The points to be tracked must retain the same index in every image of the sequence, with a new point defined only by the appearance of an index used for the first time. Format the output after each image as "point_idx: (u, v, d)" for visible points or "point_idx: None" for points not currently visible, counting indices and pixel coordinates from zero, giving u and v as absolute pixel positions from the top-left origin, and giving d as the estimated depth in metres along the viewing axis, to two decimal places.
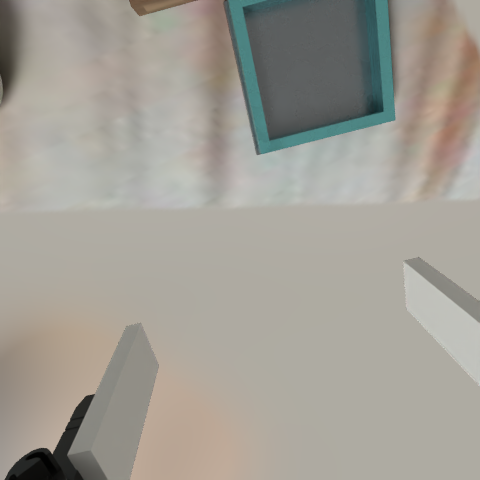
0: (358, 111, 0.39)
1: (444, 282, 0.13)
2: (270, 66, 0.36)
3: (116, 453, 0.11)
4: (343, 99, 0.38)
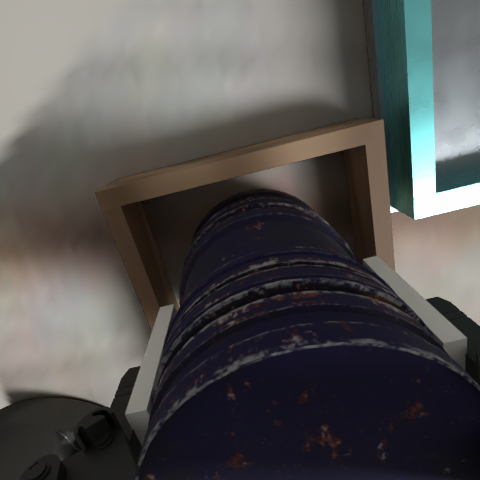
0: None
1: (394, 278, 0.14)
2: None
3: None
4: None
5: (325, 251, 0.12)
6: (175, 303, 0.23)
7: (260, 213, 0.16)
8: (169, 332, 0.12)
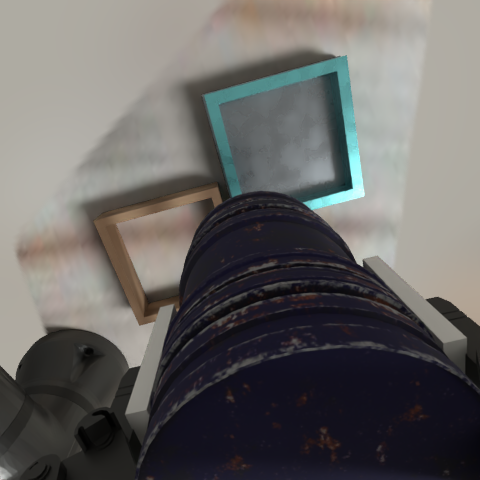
0: (327, 92, 0.38)
1: (394, 278, 0.14)
2: (284, 185, 0.41)
3: None
4: (315, 110, 0.38)
5: (324, 253, 0.12)
6: (135, 274, 0.44)
7: (260, 214, 0.16)
8: (168, 334, 0.12)
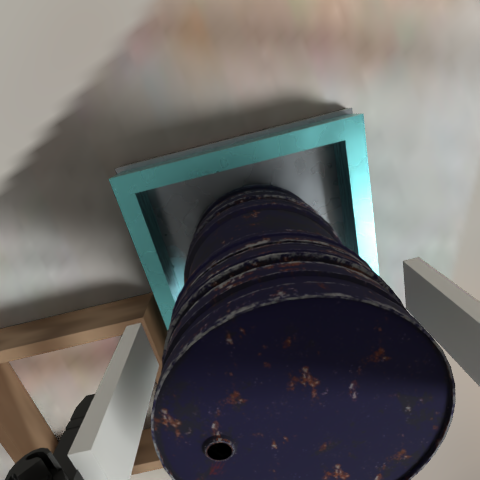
0: (328, 166, 0.22)
1: (444, 282, 0.13)
2: None
3: (116, 453, 0.11)
4: (308, 194, 0.23)
5: (311, 233, 0.14)
6: (36, 414, 0.30)
7: (256, 203, 0.18)
8: (176, 304, 0.14)
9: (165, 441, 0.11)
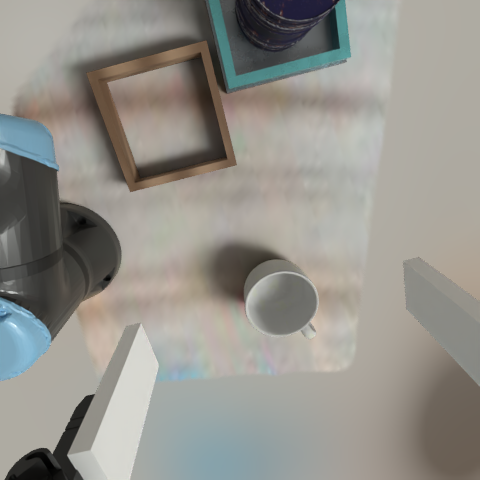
0: None
1: (444, 282, 0.13)
2: None
3: (116, 453, 0.11)
4: None
5: None
6: (127, 144, 0.46)
7: None
8: None
9: None
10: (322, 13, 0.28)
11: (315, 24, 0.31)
